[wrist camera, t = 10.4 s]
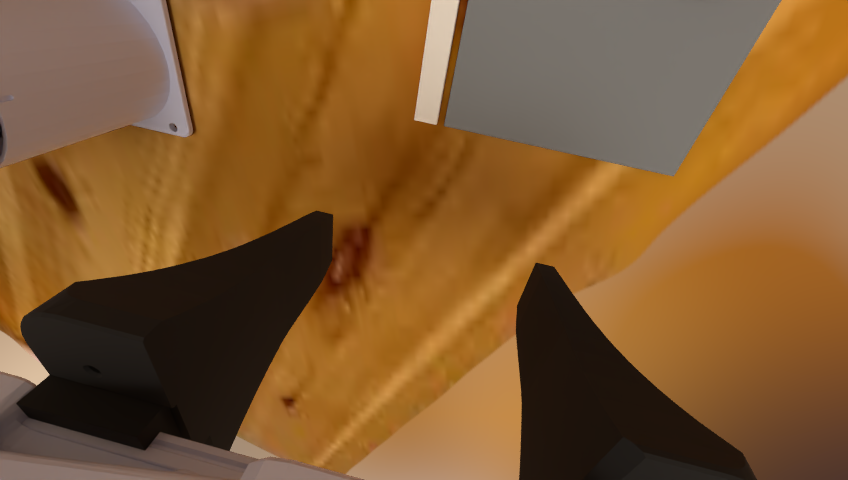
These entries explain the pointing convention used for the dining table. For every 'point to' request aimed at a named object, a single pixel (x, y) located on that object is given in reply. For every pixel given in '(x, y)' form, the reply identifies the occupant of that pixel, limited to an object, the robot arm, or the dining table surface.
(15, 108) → the robot arm
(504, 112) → the mat
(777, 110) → the dining table surface
